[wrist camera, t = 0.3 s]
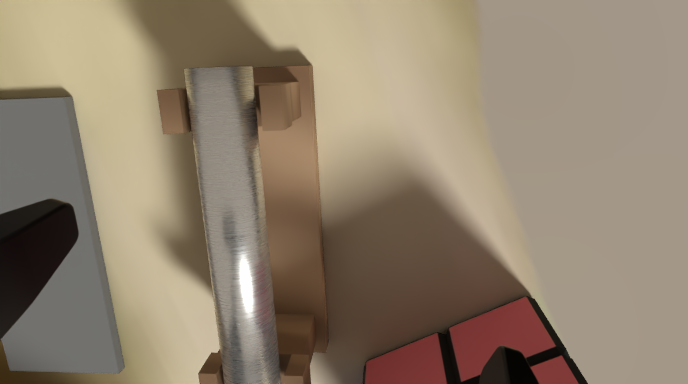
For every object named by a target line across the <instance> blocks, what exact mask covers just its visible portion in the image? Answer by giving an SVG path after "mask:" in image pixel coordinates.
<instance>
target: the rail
mask: <svg viewBox="0 0 688 384" xmlns="http://www.w3.org/2000/svg"><path fill="white" fill-rule="evenodd" d="M184 74H185V82H186V90H187V97H188V105H189V113H190V121H191V128H192V136H193V144H194V152H195V159H196V167H197V175H198V183H199V190H200V198H201V206H202V213H203V221H204V229H205V237H206V244H207V252H208V260H209V268H210V275H211V283H212V291H213V298H214V306H215V314H216V322H217V329H218V337H219V345H220V353H221V360H222V368H223V376H224V384H281V375H280V364H279V353H278V342H277V331H276V320H275V309H274V298H273V287H272V276H271V265H270V254H269V243H268V232H267V221H266V210H265V199H264V188H263V177H262V166H261V155H260V144H259V133H258V122H257V111H256V100H255V90H254V79H253V68H252V66H235V67H208V68H189V69H184Z"/></svg>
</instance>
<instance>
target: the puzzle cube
mask: <svg viewBox="0 0 688 384" xmlns="http://www.w3.org/2000/svg"><path fill="white" fill-rule="evenodd" d="M500 345H504V346H507V347H510V348H513V349H516V350H519V351H520V352H522V353H523V355H524V356H525V358H526V360H527V362H528V364H529V365H530V367H531V369H532V371H533V373H534V375H535V376H536V378H537V380H538V382H539V384H588V383H587V381H586V380H585V378H584V377H583V375H582V374H581V372H580V370H579V369H578V367H577V366H576V364H575V362H574V361H573V359H572V358H570V356H569V354H568V352H567V350H566V348H565V347H564V345H563V343H562V342H561V340H560V339H559V337H558V335H557V334H556V332H555V331H554V329H553V328H552V326H551V324H550V323H549V321H548V320H547V318H546V316H545V315H544V313H543V312H542V310H541V309H540V307H539V305H538V304H537V302H536V301H535V299H533V298H530V297H527V296H526V297H523V298H521V299H518V300H516V301H514V302H511V303H509V304H506V305H504V306H501V307H499V308H496V309H494V310H492V311H489V312H487V313H484V314H482V315H479V316H477V317H474V318H472V319H469V320H467V321H465V322H462V323H460V324H457V325H455V326H452V327H450V328H448V330H447V333H446V335H444V334H441V333H435V334H433V335H430V336H428V337H425V338H423V339H420V340H418V341H416V342H413V343H411V344H408V345H406V346H403V347H401V348H398V349H396V350H394V351H391V352H389V353H386V354H384V355H381V356H379V357H376V358H374V359H371V360H369V361H367V362H366V364H365V366H364V373H363V384H479V381H480V375H481V372H482V369H483V367H484V365H485V364H486V363H487V361H488V360H489V358H490V357H491V355H492V354H493V353H494V351H495V350H496V348H497V347H498V346H500Z"/></svg>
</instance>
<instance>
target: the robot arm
mask: <svg viewBox="0 0 688 384" xmlns="http://www.w3.org/2000/svg"><path fill="white" fill-rule="evenodd" d="M78 236H79V229H78V224H77V220H76V215H75V210H74V207H73V206H72V205H71V204H70V203H68V202H65V201H62V200H59V199H55V198H49V199H46V200H42V201H39V202H36V203H33V204H30V205H27V206H24V207H21V208H18V209H14V210H11V211H8V212H5V213H2V214H0V340H1V339H2V338H3V337H4V335H5V334H6V333H7V332H8V331H9V330H10V329H11V327H12V326H13V325H14V324H15V323H16V322H17V321H18V320H19V318H20V317H21V316H22V315H23V314H24V313H25V311H26V310H27V309H28V308H29V307H30V306H31V304H32V303H33V302H34V300H35V299H36V298H37V297H38V295H39V294H40V293H41V291H42V290H43V288H44V287H45V286H46V284H47V283H48V281H49V280H50V279H51V277H52V276H53V274H54V273H55V272H56V270H57V269H58V267H59V266H60V265H61V263H62V262H63V260H64V259H65V258H66V256H67V255H68V253H69V252H70V251H71V249H72V248H73V246H74V245H75V243H76V242H77V240H78ZM479 384H539V382H538V380H537V378H536V376H535V375H534V373H533V371H532V369H531V367H530V365H529V364H528V362H527V360H526V358H525V356H524V355H523V353H522V352H520V351H519V350H516V349H513V348H510V347H507V346H504V345H500V346H498V347H497V348H496V350H495V351H494V353H493V354H492V355H491V357H490V358H489V360H488V361H487V363H486V364H485V365H484V367H483V369H482V372H481V375H480V381H479Z"/></svg>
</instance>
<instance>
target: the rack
mask: <svg viewBox="0 0 688 384" xmlns="http://www.w3.org/2000/svg"><path fill="white" fill-rule="evenodd" d="M253 79H254V90H255V100H256V111H257V122H258V133H259V144H260V155H261V166H262V177H263V188H264V199H265V210H266V221H267V232H268V243H269V254H270V265H271V276H272V287H273V298H274V309H275V320H276V331H277V342H278V353H279V364H280V375H281V384H311V378H310V363H311V359H312V355H313V352H324V353H326V351H327V346H328V326H327V308H326V291H325V274H324V257H323V239H322V222H321V205H320V188H319V170H318V153H317V136H316V119H315V101H314V84H313V67H312V65H306V66H284V67H261V68H253ZM157 94H158V101H159V108H160V114H161V121H162V128H163V134H183V133H187V132H190V131H192V128H191V121H190V113H189V105H188V97H187V90H186V88H176V89H165V90H157ZM198 375H199V382H200V384H224V376H223V368H222V360H221V353H220V350H219V351H218V353H211V354H210V356H209V357H208V359H207V360H206V362H205V364H204V365H203V367H202V368H201V370H200V372H199V373H198Z"/></svg>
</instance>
